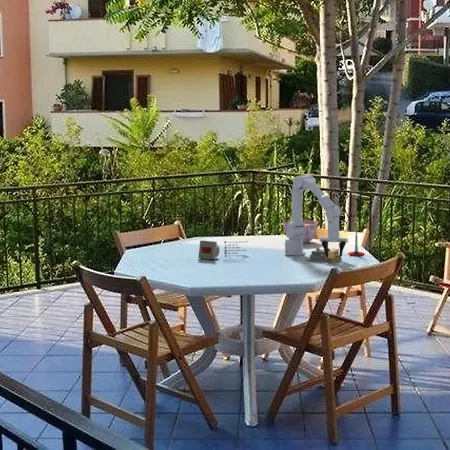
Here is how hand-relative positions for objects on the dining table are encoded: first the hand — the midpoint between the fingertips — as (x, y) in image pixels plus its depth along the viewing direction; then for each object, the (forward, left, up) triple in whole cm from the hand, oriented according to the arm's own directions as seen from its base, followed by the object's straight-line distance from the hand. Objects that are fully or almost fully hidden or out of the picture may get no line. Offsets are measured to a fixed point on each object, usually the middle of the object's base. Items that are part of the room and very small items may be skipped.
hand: (333, 255), depth 411 cm
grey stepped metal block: (-8, +4, -3) cm, 9 cm away
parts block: (0, 0, -3) cm, 3 cm away
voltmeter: (-58, -10, -3) cm, 59 cm away
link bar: (0, 0, -1) cm, 1 cm away
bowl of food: (-33, +48, -3) cm, 58 cm away
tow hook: (+7, +20, -3) cm, 21 cm away
